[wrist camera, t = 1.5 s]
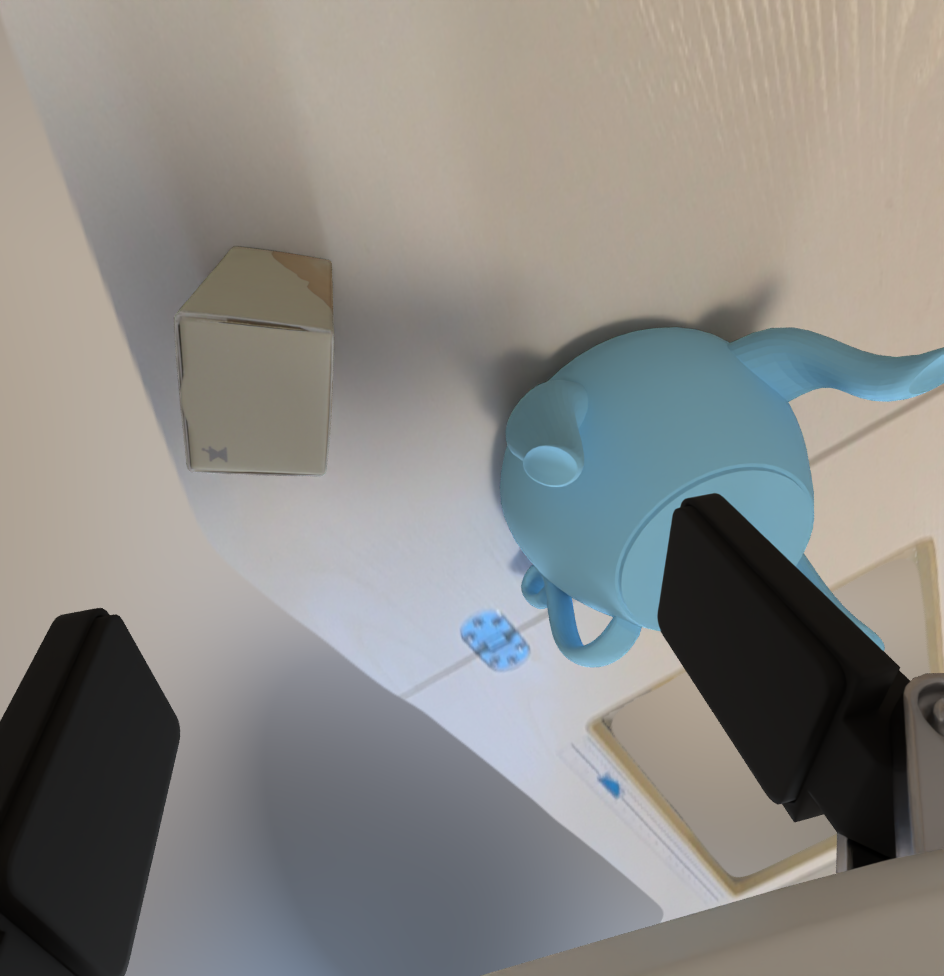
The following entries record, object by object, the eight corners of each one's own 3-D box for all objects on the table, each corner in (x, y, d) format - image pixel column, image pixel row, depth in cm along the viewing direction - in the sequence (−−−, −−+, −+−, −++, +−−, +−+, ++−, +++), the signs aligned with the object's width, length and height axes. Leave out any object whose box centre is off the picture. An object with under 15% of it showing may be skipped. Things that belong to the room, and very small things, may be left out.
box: (327, 366, 28) (327, 488, 19) (231, 358, 27) (183, 482, 18) (333, 253, 26) (336, 329, 17) (227, 237, 24) (168, 311, 15)
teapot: (777, 249, 30) (1008, 318, 20) (751, 527, 40) (893, 666, 30) (454, 337, 29) (524, 458, 19) (513, 600, 39) (579, 768, 29)
